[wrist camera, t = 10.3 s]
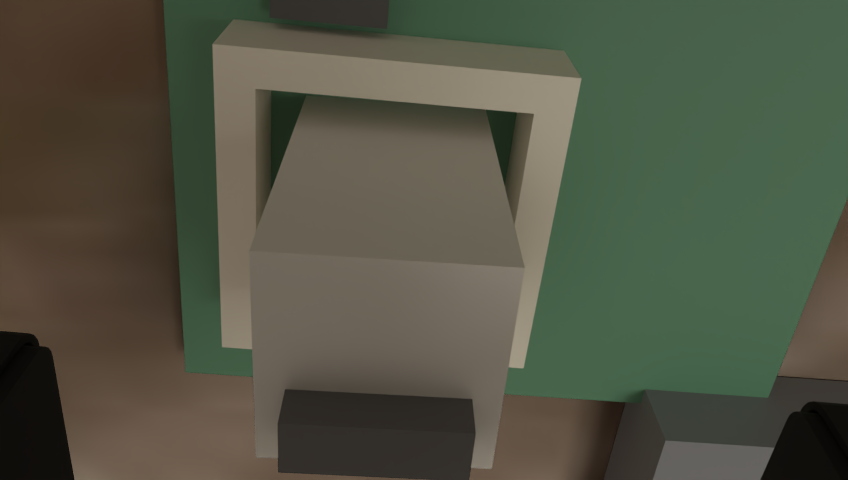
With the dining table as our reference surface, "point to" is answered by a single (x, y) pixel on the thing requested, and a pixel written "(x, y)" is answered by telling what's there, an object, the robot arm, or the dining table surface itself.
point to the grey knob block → (709, 431)
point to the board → (549, 166)
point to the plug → (384, 293)
